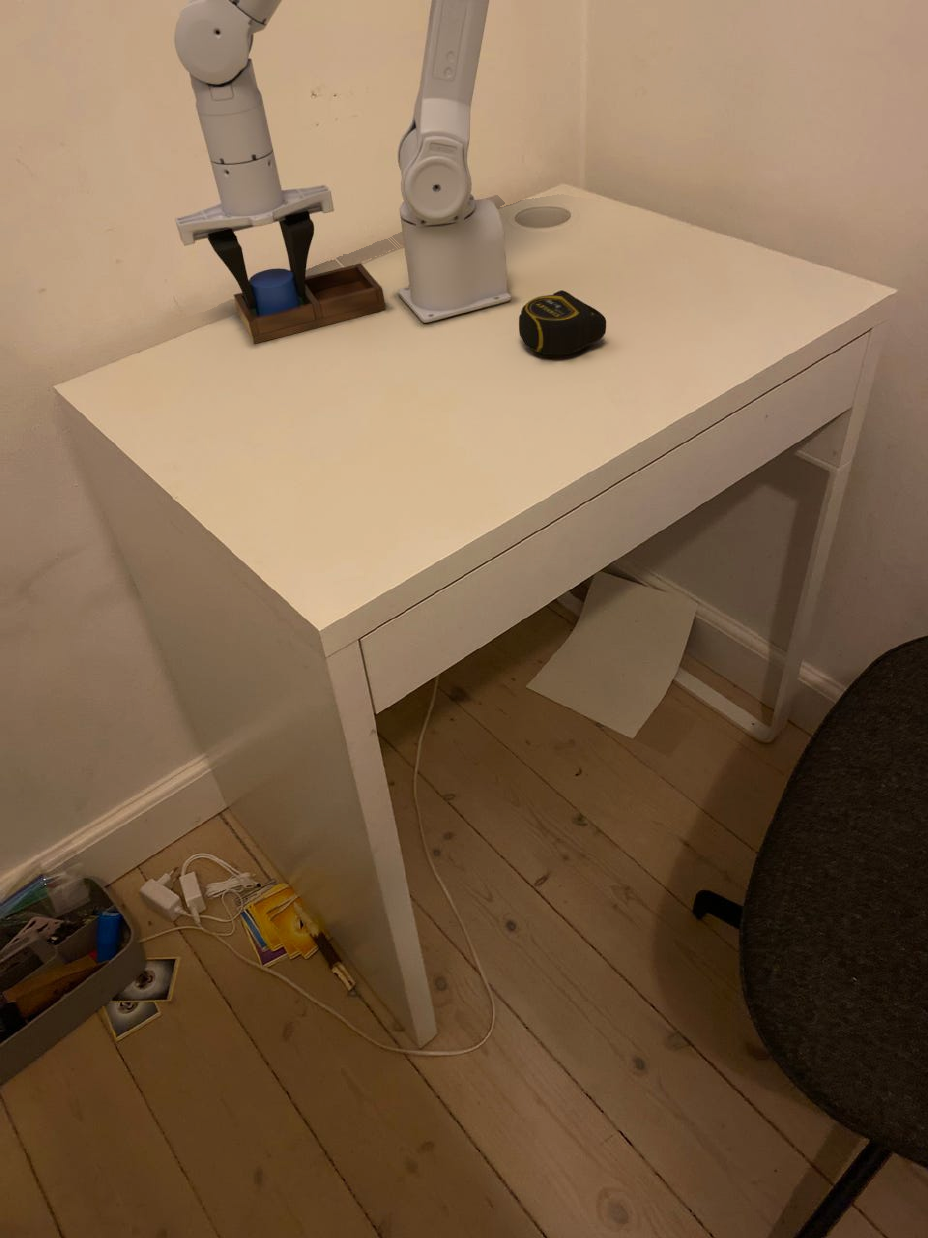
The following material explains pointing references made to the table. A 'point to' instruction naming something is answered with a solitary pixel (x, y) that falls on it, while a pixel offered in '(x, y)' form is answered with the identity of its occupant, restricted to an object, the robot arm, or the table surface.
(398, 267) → the table surface
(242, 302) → the holder
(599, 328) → the tape measure
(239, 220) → the robot arm
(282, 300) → the cylinder
